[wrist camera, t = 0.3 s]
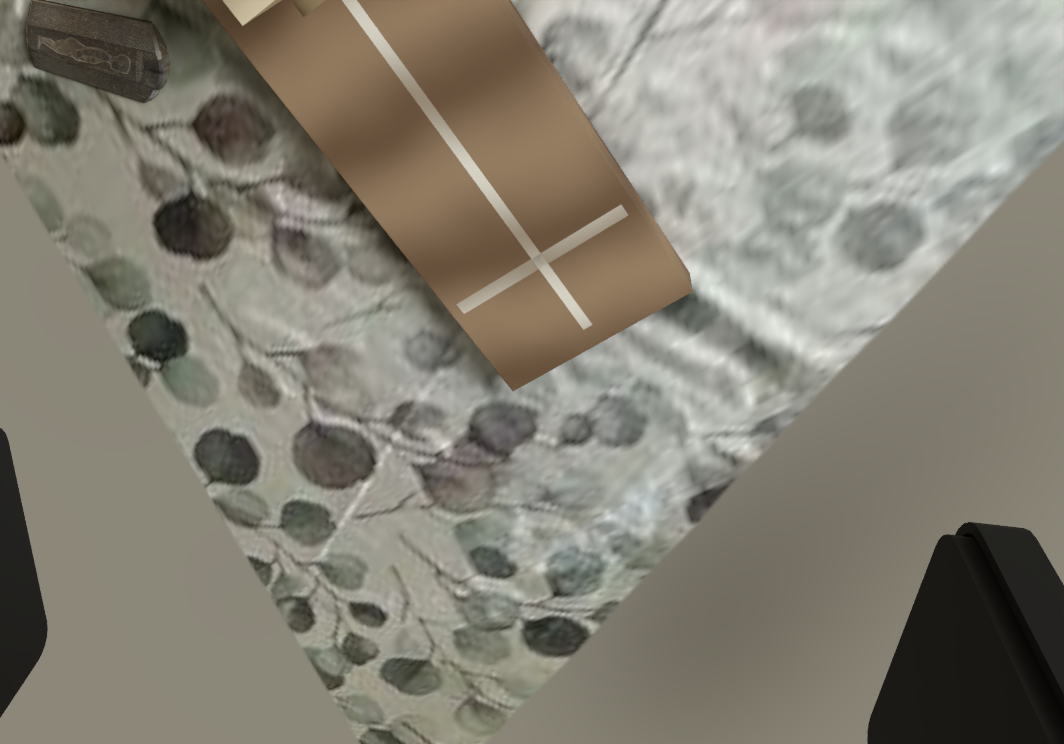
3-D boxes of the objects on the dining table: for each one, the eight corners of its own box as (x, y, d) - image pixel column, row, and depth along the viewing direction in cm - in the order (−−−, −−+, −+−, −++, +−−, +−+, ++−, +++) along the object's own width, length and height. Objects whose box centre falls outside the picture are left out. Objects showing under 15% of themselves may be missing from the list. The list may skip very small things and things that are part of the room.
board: (111, -146, 39) (88, -143, 37) (299, -321, 36) (283, -327, 34) (516, 370, 50) (512, 391, 48) (689, 272, 47) (692, 291, 45)
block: (47, -9, 43) (22, -8, 42) (179, 23, 43) (160, 25, 41) (45, 75, 45) (22, 79, 43) (173, 106, 45) (154, 111, 43)
